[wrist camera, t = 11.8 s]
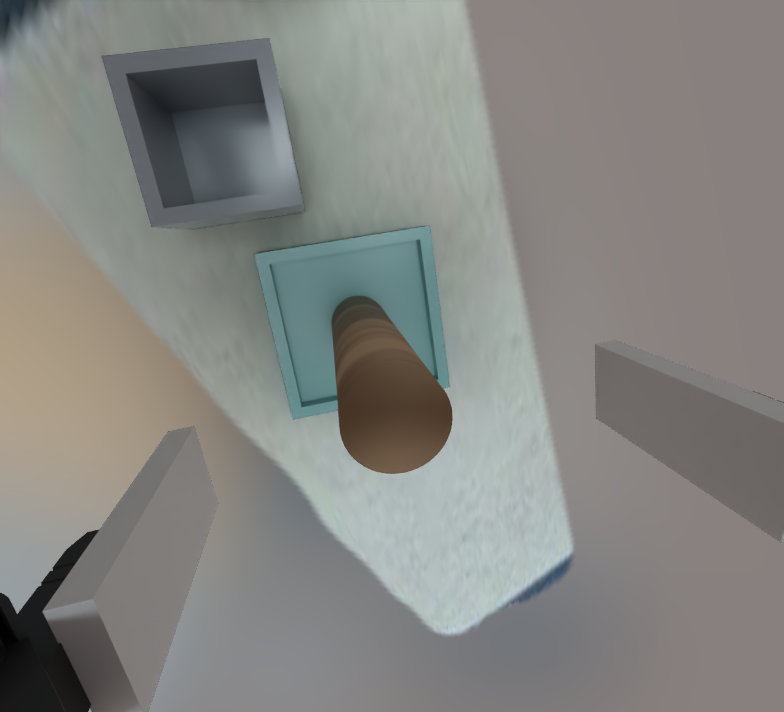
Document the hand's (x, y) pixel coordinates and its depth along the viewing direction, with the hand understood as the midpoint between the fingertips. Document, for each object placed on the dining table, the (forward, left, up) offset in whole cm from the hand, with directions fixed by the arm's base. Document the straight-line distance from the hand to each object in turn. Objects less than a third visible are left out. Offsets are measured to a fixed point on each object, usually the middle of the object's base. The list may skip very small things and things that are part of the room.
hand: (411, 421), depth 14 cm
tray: (0, 0, -20) cm, 20 cm away
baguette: (0, 0, -19) cm, 19 cm away
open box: (-12, -6, -20) cm, 24 cm away
